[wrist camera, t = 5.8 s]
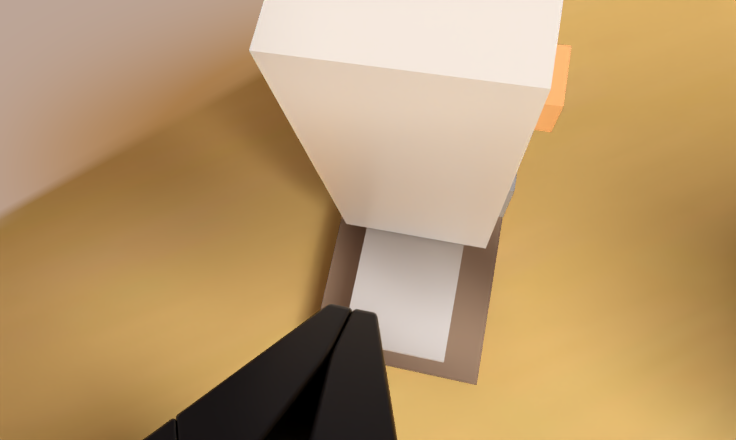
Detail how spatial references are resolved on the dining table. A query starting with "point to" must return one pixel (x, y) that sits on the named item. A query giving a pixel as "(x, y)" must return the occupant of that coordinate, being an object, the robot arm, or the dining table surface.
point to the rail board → (417, 296)
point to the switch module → (416, 103)
